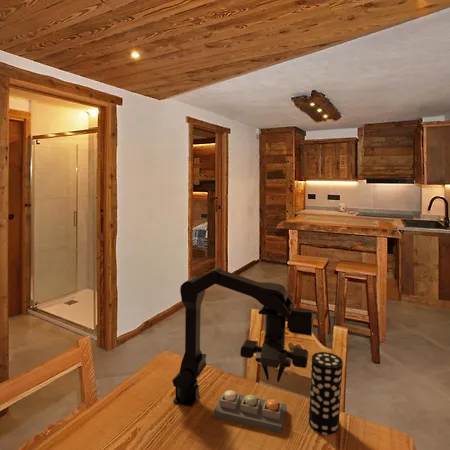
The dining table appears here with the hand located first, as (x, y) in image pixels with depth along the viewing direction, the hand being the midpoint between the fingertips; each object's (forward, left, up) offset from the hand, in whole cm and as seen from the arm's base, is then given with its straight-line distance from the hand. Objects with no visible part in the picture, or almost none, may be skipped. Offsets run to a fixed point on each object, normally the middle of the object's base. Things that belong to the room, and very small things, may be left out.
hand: (273, 380), depth 100 cm
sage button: (-6, 0, -9) cm, 11 cm away
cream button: (-13, 0, -9) cm, 16 cm away
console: (-6, 0, -12) cm, 14 cm away
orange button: (0, 0, -9) cm, 9 cm away
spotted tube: (+15, +2, -12) cm, 19 cm away
